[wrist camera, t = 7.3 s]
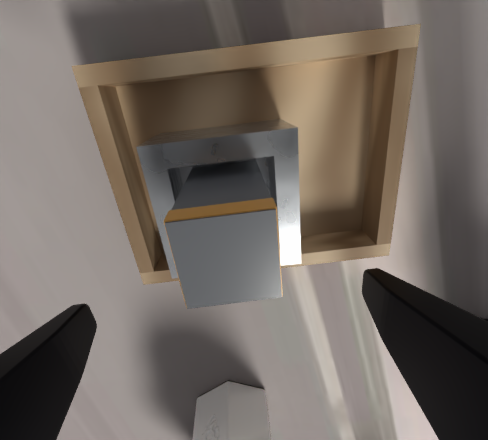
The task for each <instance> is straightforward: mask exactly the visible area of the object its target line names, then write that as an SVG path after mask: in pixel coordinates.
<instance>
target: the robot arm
mask: <svg viewBox="0 0 488 440" xmlns="http://www.w3.org/2000/svg"><path fill="white" fill-rule="evenodd" d="M362 294H363V297H364V300H365V302H366V304H367V307H368V309H369V311H370V313H371V316H372V318H373V320H374V323H375V325H376V327H377V329H378V332H379V334H380V336H381V338H382V340H383V342H384V344H385V346H386V348H387V349H388V351H389V353H390V355H391V356H392V358H393V360H394V362H395V363H396V365H397V367H398V369H399V370H400V372H401V374H402V376H403V377H404V379H405V381H406V383H407V384H408V386H409V388H410V390H411V391H412V393H413V395H414V397H415V398H416V400H417V402H418V404H419V405H420V407H421V409H422V411H423V412H424V414H425V416H426V418H427V419H428V421H429V423H430V425H431V426H432V428H433V430H434V432H435V433H436V435H437V437H438V439H439V440H488V320H484V319H482V318H479V317H477V316H475V315H473V314H471V313H469V312H467V311H465V310H463V309H461V308H459V307H457V306H455V305H453V304H451V303H449V302H446V301H444V300H442V299H440V298H438V297H436V296H434V295H432V294H430V293H428V292H426V291H424V290H422V289H420V288H418V287H416V286H414V285H411V284H409V283H407V282H405V281H403V280H401V279H399V278H397V277H395V276H393V275H391V274H389V273H387V272H385V271H383V270H381V269H378V268H375V269H367V270H365V271H364V274H363V285H362ZM96 328H97V324H96V321H95V318H94V316H93V314H92V312H91V310H90V307H89V306H88V305H87V304H77V305H73V306H71V307H69V308H68V309H66V310H65V311H63V312H62V313H60V314H59V315H57V316H56V317H54V318H53V319H51V320H50V321H49V322H47V323H46V324H44V325H43V326H41V327H40V328H38V329H37V330H35V331H34V332H32V333H31V334H29V335H28V336H26V337H25V338H23V339H22V340H20V341H19V342H18V343H16V344H15V345H13V346H12V347H10V348H9V349H7V350H6V351H4V352H3V353H1V354H0V440H56V439H57V436H58V434H59V432H60V429H61V427H62V424H63V422H64V419H65V417H66V415H67V412H68V410H69V407H70V405H71V402H72V400H73V398H74V395H75V393H76V390H77V388H78V385H79V383H80V380H81V378H82V375H83V372H84V369H85V365H86V362H87V359H88V356H89V352H90V349H91V346H92V342H93V339H94V336H95V332H96Z"/></svg>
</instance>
